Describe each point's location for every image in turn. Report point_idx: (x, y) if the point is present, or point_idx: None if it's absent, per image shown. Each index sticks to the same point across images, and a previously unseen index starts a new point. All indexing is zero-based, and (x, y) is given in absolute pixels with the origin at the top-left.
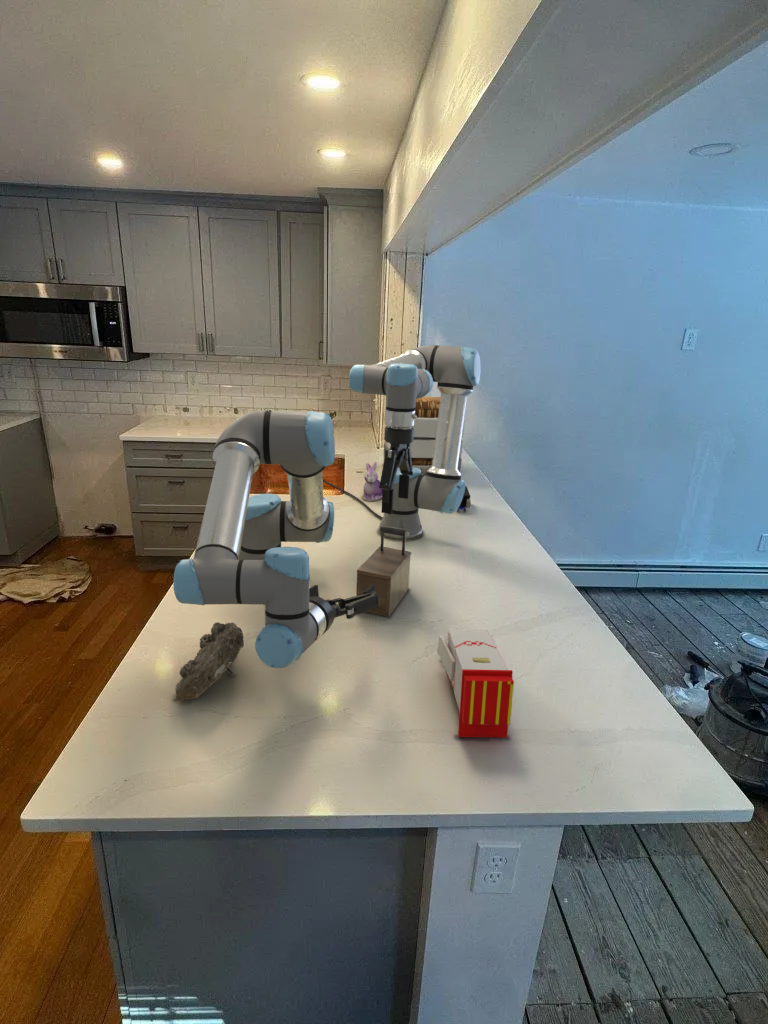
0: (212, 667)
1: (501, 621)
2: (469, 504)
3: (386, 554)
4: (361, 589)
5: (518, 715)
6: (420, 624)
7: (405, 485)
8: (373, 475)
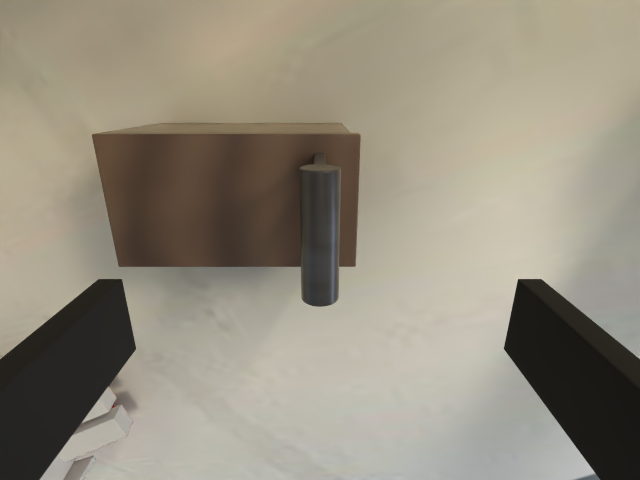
0: None
1: (282, 426)
2: None
3: (287, 190)
4: None
5: None
6: (184, 293)
7: (578, 418)
8: None
